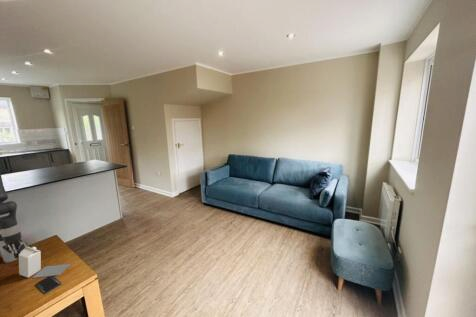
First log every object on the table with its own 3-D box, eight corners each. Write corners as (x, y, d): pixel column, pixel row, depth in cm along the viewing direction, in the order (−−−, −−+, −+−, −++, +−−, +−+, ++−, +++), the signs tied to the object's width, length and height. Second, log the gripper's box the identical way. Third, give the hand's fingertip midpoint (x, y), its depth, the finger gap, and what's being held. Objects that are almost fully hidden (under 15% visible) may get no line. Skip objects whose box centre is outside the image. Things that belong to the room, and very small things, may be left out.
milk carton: (28, 278, 124) (27, 252, 120) (19, 274, 125) (18, 249, 121) (41, 269, 131) (40, 245, 127) (32, 266, 132) (31, 242, 128)
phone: (51, 274, 125) (61, 283, 118) (51, 276, 125) (62, 284, 118) (34, 284, 118) (44, 293, 111) (35, 285, 119) (44, 294, 111)
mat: (32, 278, 124) (32, 277, 124) (46, 266, 134) (45, 266, 134) (59, 275, 125) (58, 274, 125) (70, 264, 135) (70, 263, 135)
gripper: (-8, 237, 118) (0, 263, 121) (16, 235, 119) (23, 260, 122) (6, 231, 125) (13, 255, 128) (28, 228, 126) (34, 252, 129)
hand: (18, 257), depth 125 cm, fingers closed
